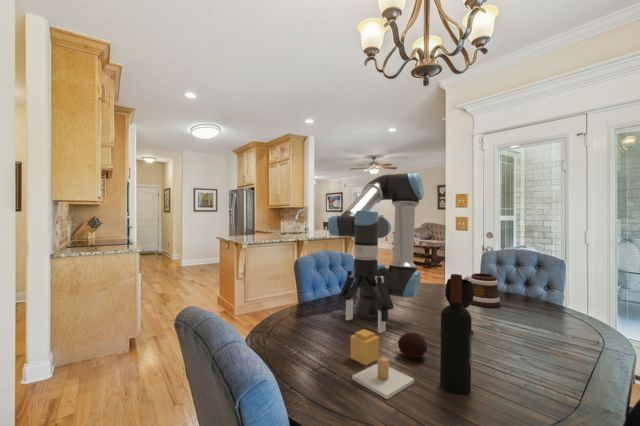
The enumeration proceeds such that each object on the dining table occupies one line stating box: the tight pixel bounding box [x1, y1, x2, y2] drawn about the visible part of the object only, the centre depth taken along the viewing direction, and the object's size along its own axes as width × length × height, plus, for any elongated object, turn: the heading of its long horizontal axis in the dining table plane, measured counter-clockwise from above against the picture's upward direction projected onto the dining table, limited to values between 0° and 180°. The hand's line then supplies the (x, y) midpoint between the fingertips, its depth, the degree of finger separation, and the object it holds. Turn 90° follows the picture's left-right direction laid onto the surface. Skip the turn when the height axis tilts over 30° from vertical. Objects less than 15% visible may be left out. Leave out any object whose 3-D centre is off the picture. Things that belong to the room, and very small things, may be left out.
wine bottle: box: [439, 273, 472, 396], centre depth 82 cm, size 8×8×30 cm
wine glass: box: [444, 278, 474, 336], centre depth 122 cm, size 10×10×20 cm
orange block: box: [349, 328, 380, 366], centre depth 98 cm, size 6×6×8 cm
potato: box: [397, 332, 428, 360], centre depth 99 cm, size 8×9×8 cm
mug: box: [463, 273, 501, 309], centre depth 162 cm, size 20×15×15 cm
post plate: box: [351, 356, 415, 400], centre depth 85 cm, size 12×12×6 cm
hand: (364, 325), depth 97 cm, fingers open, 13 cm apart
